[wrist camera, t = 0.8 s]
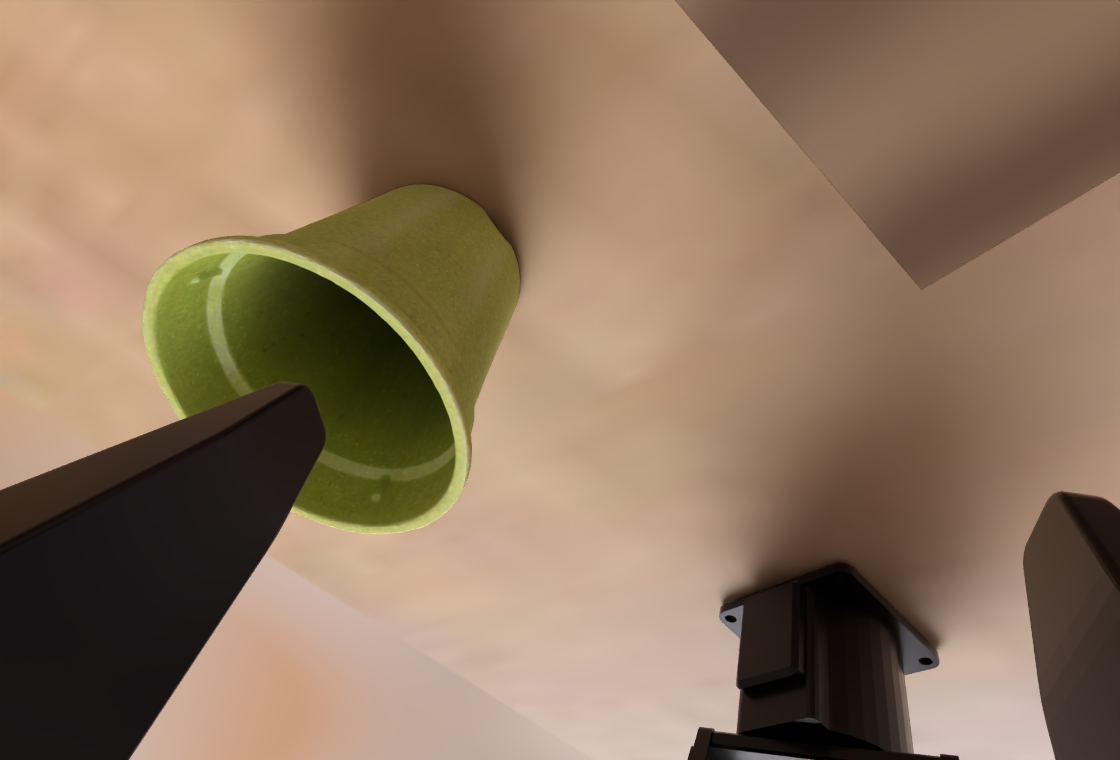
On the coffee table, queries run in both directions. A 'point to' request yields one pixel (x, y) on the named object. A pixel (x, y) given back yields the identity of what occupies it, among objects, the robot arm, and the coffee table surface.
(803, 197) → the coffee table surface
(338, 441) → the plant pot
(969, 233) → the walnut base
